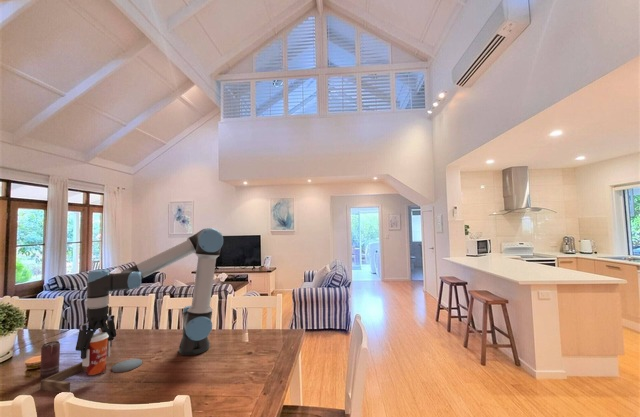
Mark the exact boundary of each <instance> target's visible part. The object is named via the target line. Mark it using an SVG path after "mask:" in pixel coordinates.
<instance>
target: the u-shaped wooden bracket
mask: <svg viewBox="0 0 640 417" xmlns="http://www.w3.org/2000/svg"><path fill="white" fill-rule="evenodd" d="M80 372H86V373H87V367H86V366H82V361H80V362H79V363H76V364H74V365H72V366H71V367H70V366H69V367H67V368H65V369H63V370H61V371H59V373H56V374H54V375H52V376H50V377H47V378H45V379H41V380H40V390H43V391H48V392H55V391H60V392H59V393H62V392H68V393H70V392H71V382H70V381H64V380H66V379H68V378H70V377H73V376H75V375H76V374H78V373H80ZM105 373H107V364H106V365H105V370H104V371H103V372H101V373H100V374H102V375H103V374H105Z"/></svg>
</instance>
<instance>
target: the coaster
mask: <svg viewBox="0 0 640 417" xmlns="http://www.w3.org/2000/svg"><path fill="white" fill-rule="evenodd" d="M142 364H143V360H142V359H140V358H130V359H126V360H123V361H120V362H117V363H115V364H114V365H112V367H111V372H113V373H125V372H129V371H132V370H134V369H137V368H140V366H141V365H142Z"/></svg>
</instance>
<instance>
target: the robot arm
mask: <svg viewBox="0 0 640 417" xmlns="http://www.w3.org/2000/svg"><path fill="white" fill-rule="evenodd" d="M223 245H224V237H223V234H222V233H221V232H220V231H219V230H218V229H216V228H213V227H211V228H210V227H209V228H202V229H200V230H199V231H197V232H195V234H193V235H191V236H189V237H187V239H186V240H184V241H183V242H181V243H179V244H176V245H175V246H171V248H169V249H166V250H164V251H162V252H160V253H158V254H156V255H153V256H152V257H149V258H147V259H145V260H143V261H141V262H139V263H136V265H135V264H134V265H133V266H131V267H129V268H128V267H126V268H124V269H123V270H122V271H121V272H118V273H117V272H116V273H111V271H110V269H108V268H107V269H106V268H105V269H95V270H91V271H89V272H88V273H87V282H86V322H85V323H84V324H83V323H82V324H79V325H78V336H77V340H76V346H75V351H78V352H80V359H82V360H81V362H82V366H86V367H88V366H89V355H90V349H88V347H89V344H90V342H91V338H92V337H93V334H94V333H97V330H99V329H100V332H107V334H108V335H109V337H108V342H107V354H106V358H107V357H111V347H113V346H112V344H113V343H112V341H114V339H115V338H116V337H117V331H116V325H115V315H112V314H111V315H110V314H109V310H110V309H109V304H110V292H114V291H123V290H134V289H139V288H141V286H142V280H143V279H144V278H146V277H148V276H150V275H152V274H154V273H156V272H158V271H160V270H162V269H165V268H166V267H168V266H170V265H172V264H174V263H176V262H179V261H180V260H182V259H185V258H186V257H188V256H190V255H193V254H195V255H196V256H197V264H196V271H195V278H194V286H193V291H192V292H193V294H192V298H191V299H192V300H191V305H188V306H185V307H183V309H182V337H181V340H180V343H179V346H178V354H179V355H181V356H195V355H199V354H202V353H205V352H206V351H209V349H210V347H211V345H210V344H211V343H210V341H209V337H208V336H210V334H211V332H212V330H213V322H212V317H213V308H212V306H211V299H212V291H213V284H214V278H215V269H216V264H217V259H218V257H220V256H221V248H222V247H223Z"/></svg>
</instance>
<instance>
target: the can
mask: <svg viewBox="0 0 640 417" xmlns="http://www.w3.org/2000/svg"><path fill="white" fill-rule="evenodd" d="M40 348H41V350H40V352H41V353H40V373H39V377H40V378H41V380H43V379H45V378H47V377H50V376H52V375H54V374H56V373H59V372H60V356H61V354H60V352H61V343H60V341H59V340H56V341H49V342H46V343H44V344H42V346H41V347H40Z"/></svg>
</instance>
